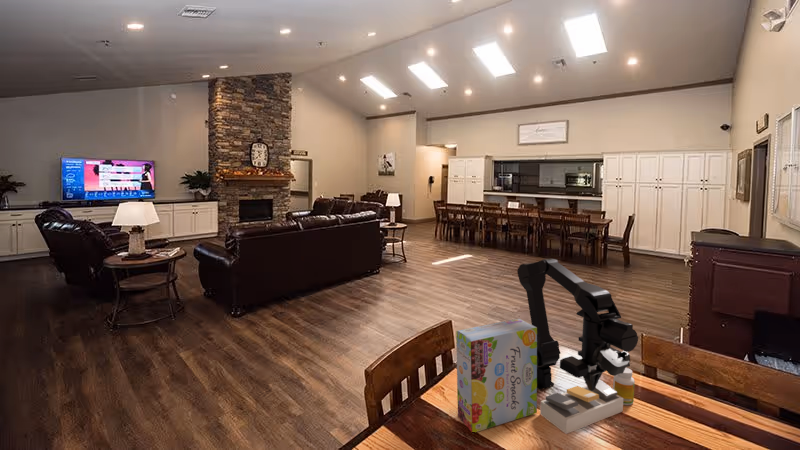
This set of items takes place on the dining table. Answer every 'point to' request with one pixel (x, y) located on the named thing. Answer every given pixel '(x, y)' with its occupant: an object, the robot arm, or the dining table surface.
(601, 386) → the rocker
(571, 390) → the rocker middle
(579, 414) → the rocker switch box
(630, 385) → the supplement bottle
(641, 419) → the dining table surface
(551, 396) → the block
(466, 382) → the snack box
